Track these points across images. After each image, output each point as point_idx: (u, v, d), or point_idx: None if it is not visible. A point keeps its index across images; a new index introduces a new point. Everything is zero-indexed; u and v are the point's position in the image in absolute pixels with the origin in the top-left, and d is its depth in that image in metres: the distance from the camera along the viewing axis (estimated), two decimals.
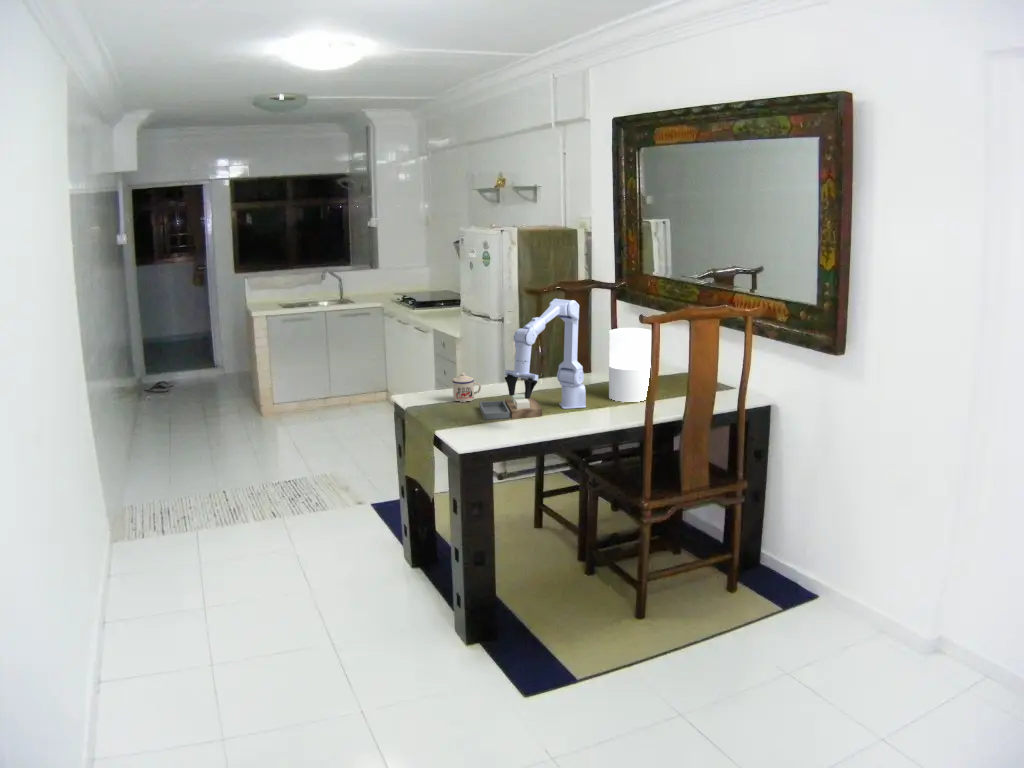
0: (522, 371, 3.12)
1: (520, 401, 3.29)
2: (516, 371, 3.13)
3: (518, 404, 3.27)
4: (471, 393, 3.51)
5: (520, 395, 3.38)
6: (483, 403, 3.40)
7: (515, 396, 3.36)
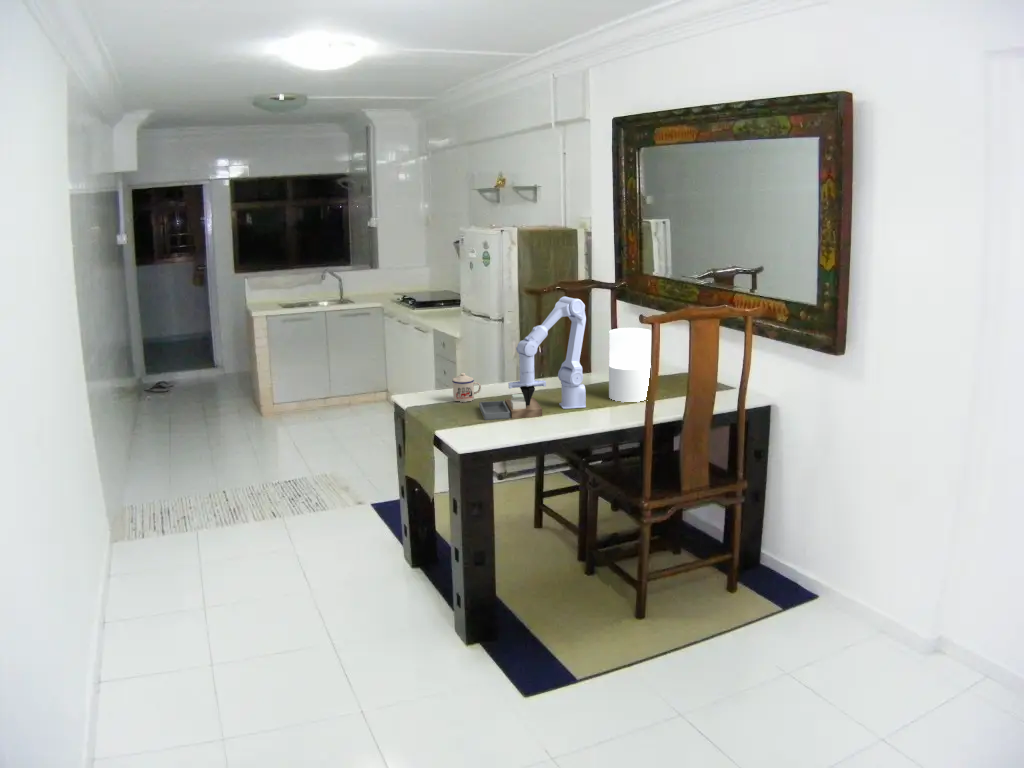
0: (533, 381, 3.26)
1: (516, 401, 3.28)
2: (527, 382, 3.25)
3: (514, 404, 3.27)
4: (471, 393, 3.51)
5: (520, 395, 3.38)
6: (483, 403, 3.40)
7: (515, 396, 3.36)
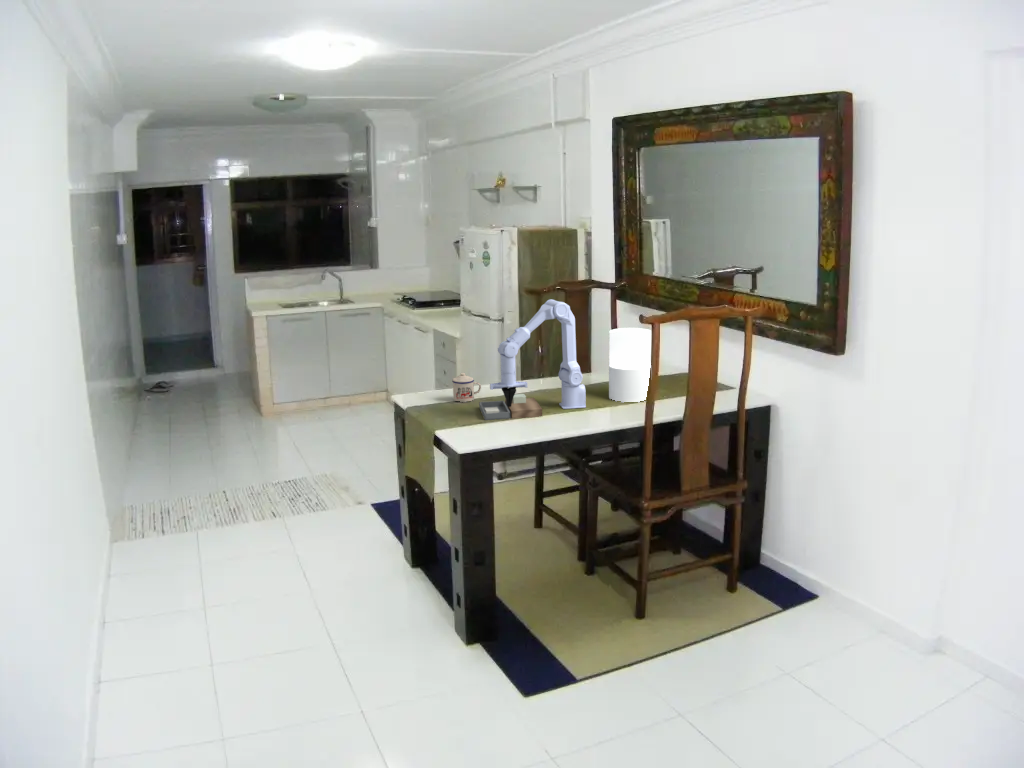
0: (514, 382, 3.25)
1: None
2: (509, 383, 3.24)
3: None
4: (471, 393, 3.51)
5: (520, 395, 3.38)
6: (483, 403, 3.40)
7: (515, 396, 3.36)
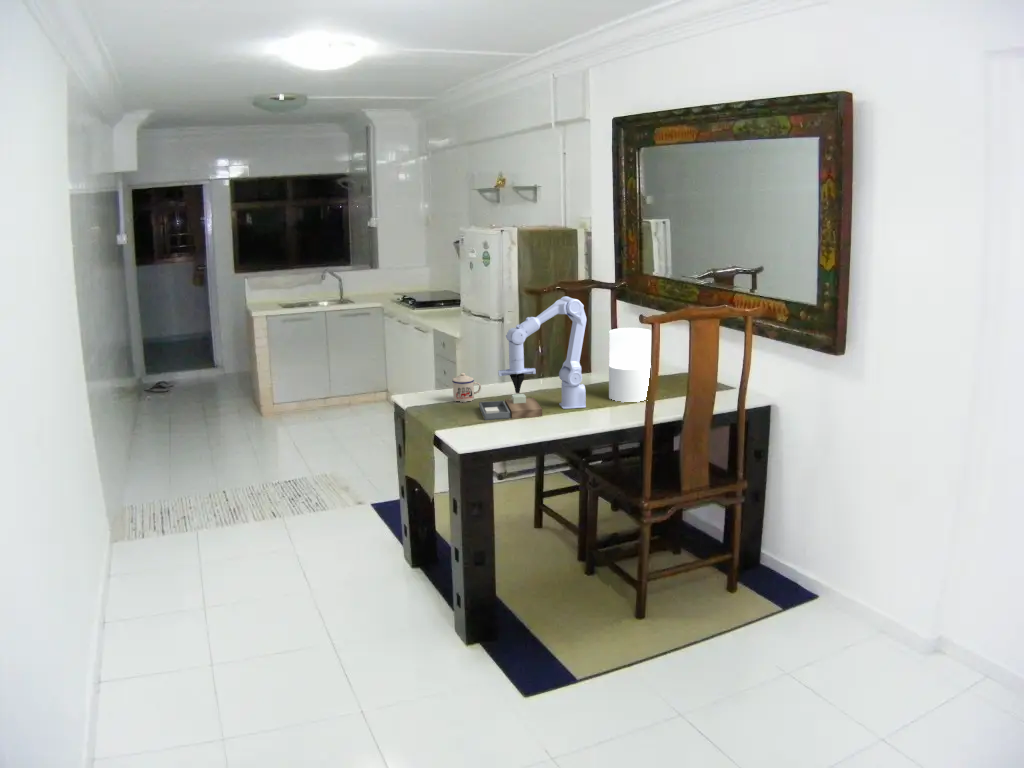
0: (522, 368, 3.27)
1: None
2: (517, 370, 3.26)
3: None
4: (471, 393, 3.51)
5: (520, 395, 3.38)
6: (483, 403, 3.40)
7: (515, 396, 3.36)
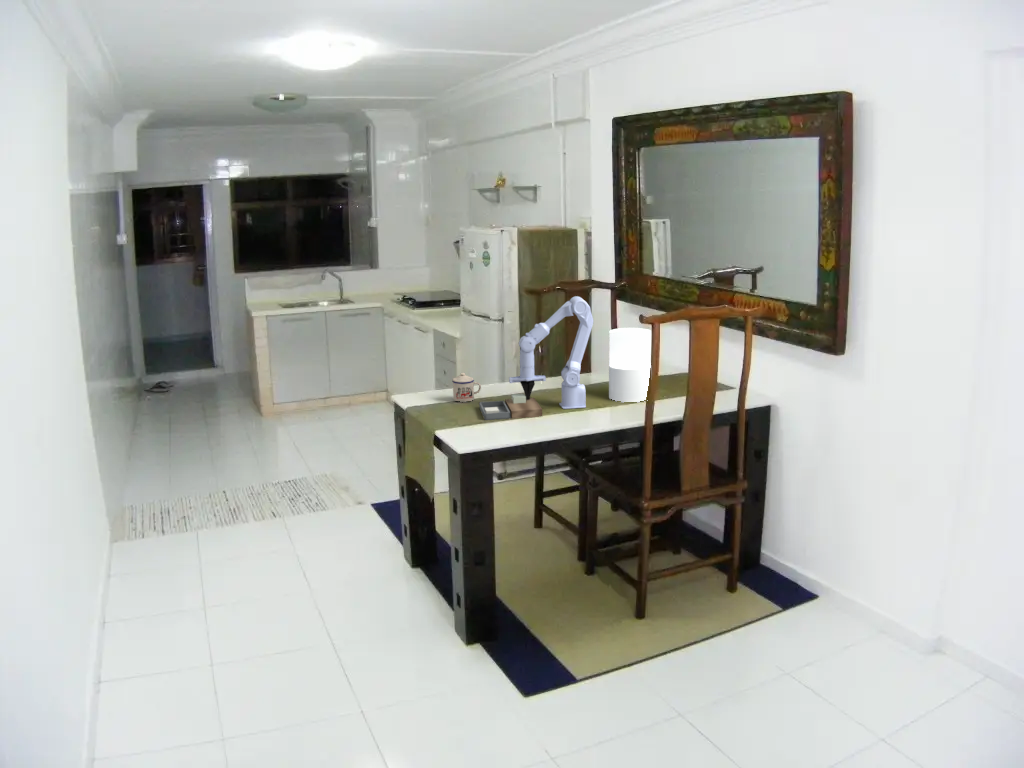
0: (533, 376, 3.35)
1: None
2: (528, 377, 3.34)
3: None
4: (471, 393, 3.51)
5: (520, 395, 3.38)
6: (483, 403, 3.40)
7: (515, 396, 3.36)
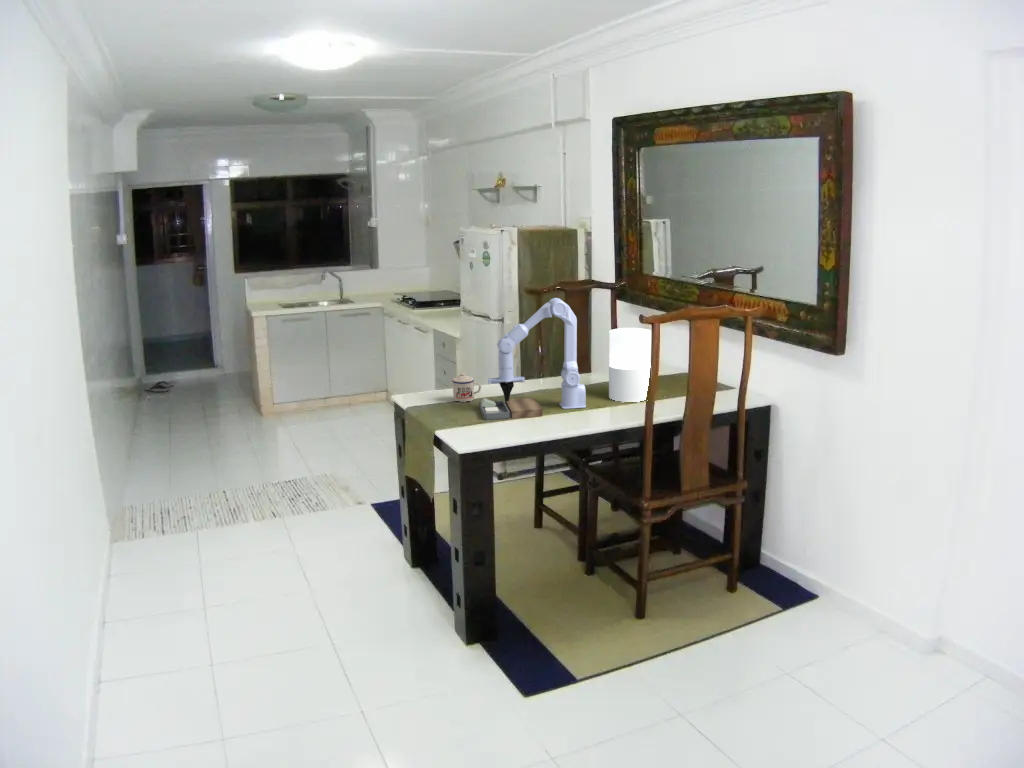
0: (512, 377, 3.33)
1: None
2: (506, 378, 3.32)
3: None
4: (471, 393, 3.51)
5: None
6: None
7: None
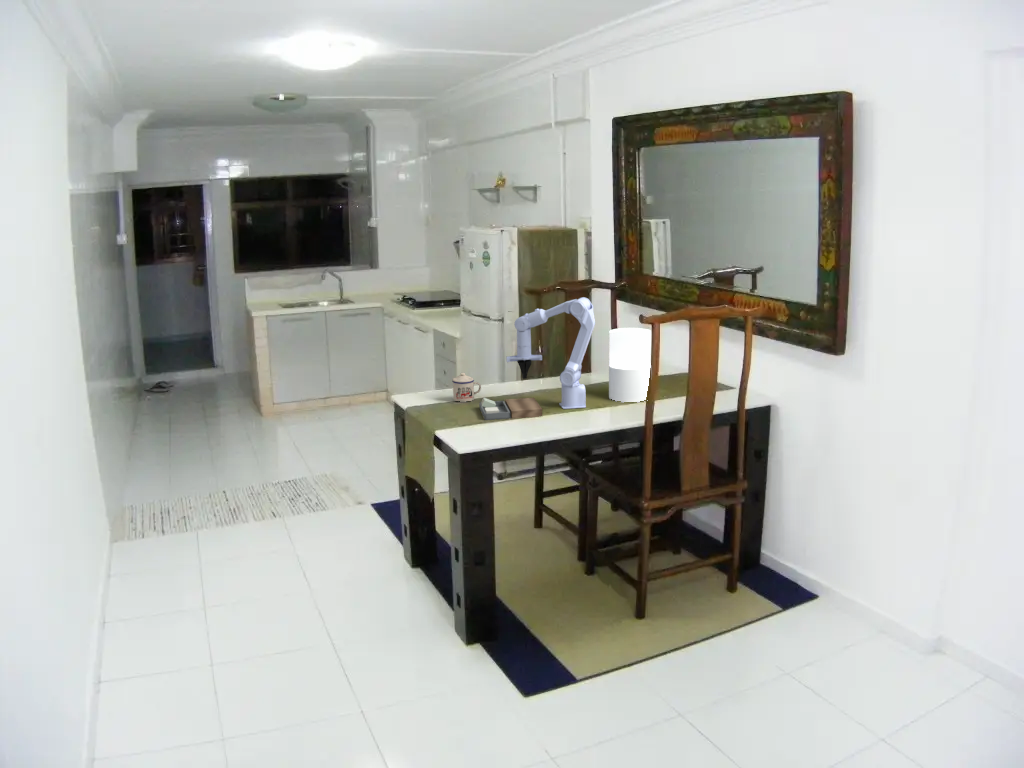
0: (529, 355, 3.42)
1: None
2: (524, 356, 3.41)
3: None
4: (471, 393, 3.51)
5: None
6: None
7: None
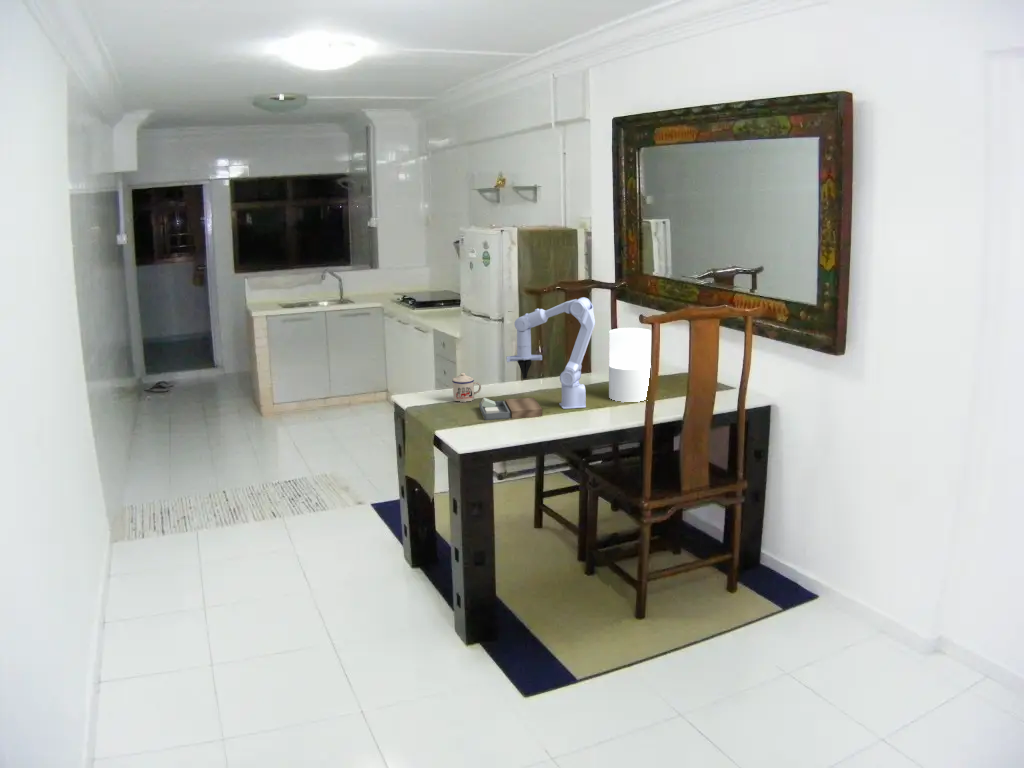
0: (529, 355, 3.42)
1: None
2: (524, 356, 3.41)
3: None
4: (471, 393, 3.51)
5: None
6: None
7: None
